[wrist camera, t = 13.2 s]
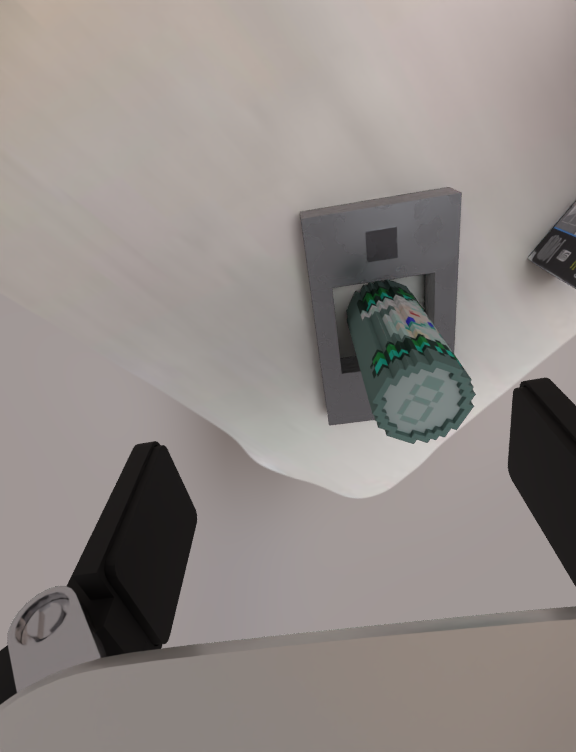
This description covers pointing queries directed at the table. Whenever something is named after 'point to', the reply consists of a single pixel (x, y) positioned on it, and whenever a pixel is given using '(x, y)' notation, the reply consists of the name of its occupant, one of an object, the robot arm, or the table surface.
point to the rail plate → (379, 273)
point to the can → (406, 365)
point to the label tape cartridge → (559, 249)
